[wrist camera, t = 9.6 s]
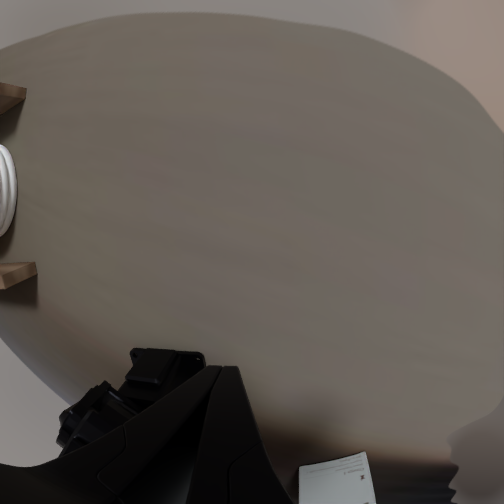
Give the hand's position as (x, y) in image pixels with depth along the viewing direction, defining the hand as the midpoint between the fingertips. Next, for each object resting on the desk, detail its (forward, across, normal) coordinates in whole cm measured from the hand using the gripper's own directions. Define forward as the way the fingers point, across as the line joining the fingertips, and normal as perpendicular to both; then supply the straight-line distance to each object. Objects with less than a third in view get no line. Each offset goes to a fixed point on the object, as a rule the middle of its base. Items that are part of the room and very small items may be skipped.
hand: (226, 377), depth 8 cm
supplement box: (+12, -7, +25) cm, 29 cm away
